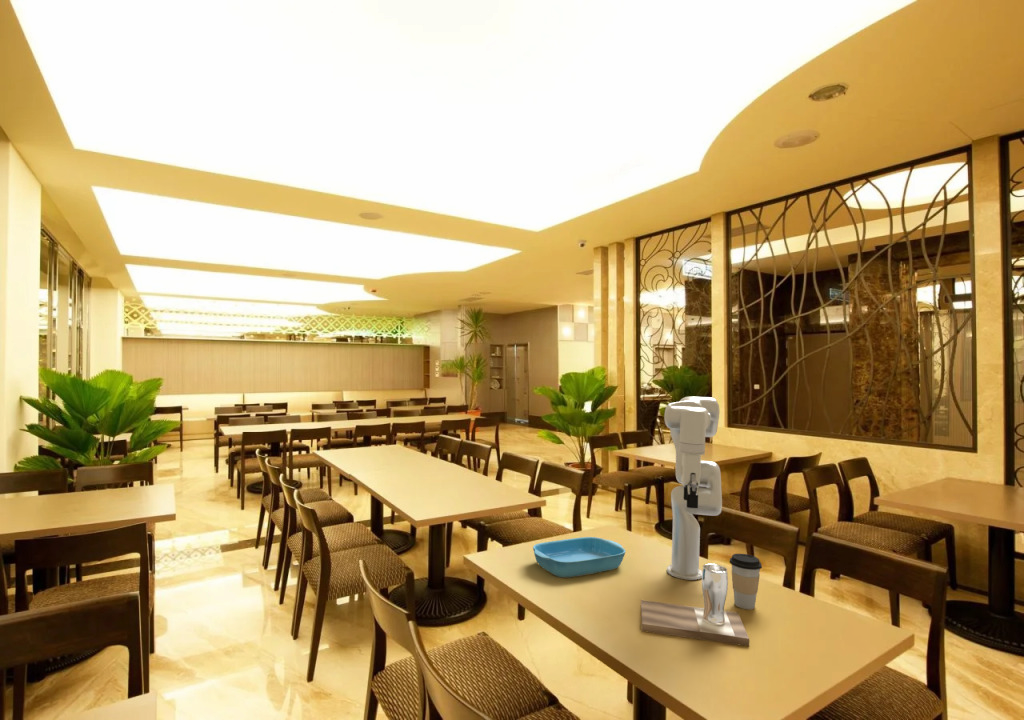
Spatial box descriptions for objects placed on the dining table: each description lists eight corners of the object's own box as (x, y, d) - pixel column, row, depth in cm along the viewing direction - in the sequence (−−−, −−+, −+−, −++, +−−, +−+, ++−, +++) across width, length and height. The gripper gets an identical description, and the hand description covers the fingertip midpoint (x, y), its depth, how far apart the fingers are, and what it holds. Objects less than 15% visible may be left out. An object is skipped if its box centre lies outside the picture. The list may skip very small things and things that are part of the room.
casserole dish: (598, 550, 215) (599, 532, 215) (636, 569, 195) (637, 550, 195) (520, 563, 197) (521, 544, 197) (554, 586, 177) (555, 564, 177)
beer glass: (728, 627, 147) (730, 573, 147) (702, 624, 149) (704, 570, 149) (724, 616, 154) (725, 565, 154) (699, 613, 155) (700, 562, 156)
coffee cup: (760, 602, 169) (761, 555, 170) (761, 614, 161) (762, 565, 161) (729, 596, 173) (730, 550, 173) (727, 607, 165) (728, 559, 165)
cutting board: (641, 606, 163) (641, 599, 163) (737, 619, 157) (737, 612, 157) (641, 630, 148) (642, 623, 148) (749, 646, 142) (749, 638, 142)
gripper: (677, 444, 173) (675, 496, 173) (681, 451, 157) (680, 509, 156) (701, 445, 172) (699, 498, 171) (708, 453, 155) (707, 512, 155)
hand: (690, 503), depth 164 cm, fingers open, 9 cm apart
